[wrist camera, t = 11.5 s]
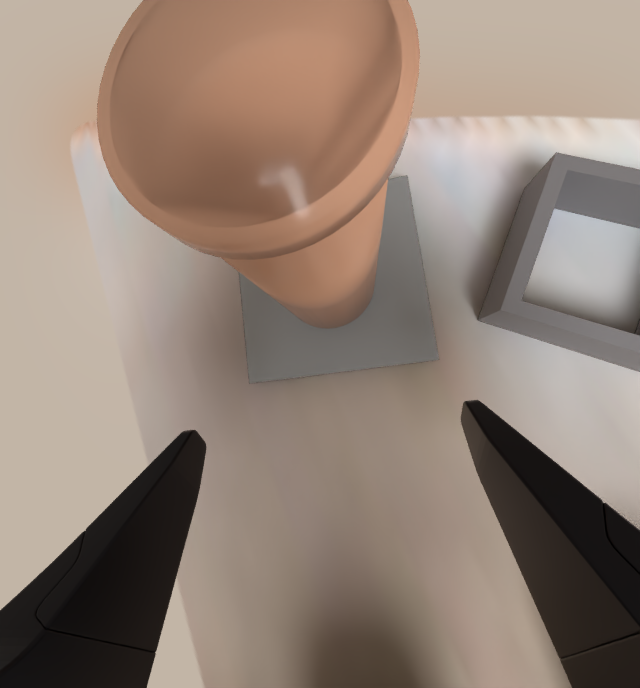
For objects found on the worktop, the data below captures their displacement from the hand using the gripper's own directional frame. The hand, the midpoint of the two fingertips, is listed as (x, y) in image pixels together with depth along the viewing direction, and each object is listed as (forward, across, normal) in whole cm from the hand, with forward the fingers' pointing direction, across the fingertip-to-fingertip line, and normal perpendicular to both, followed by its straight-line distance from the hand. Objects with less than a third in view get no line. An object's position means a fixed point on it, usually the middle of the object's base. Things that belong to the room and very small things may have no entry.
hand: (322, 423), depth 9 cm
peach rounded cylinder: (+11, 0, 0) cm, 11 cm away
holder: (+10, -15, +2) cm, 19 cm away
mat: (+12, 0, +1) cm, 12 cm away
